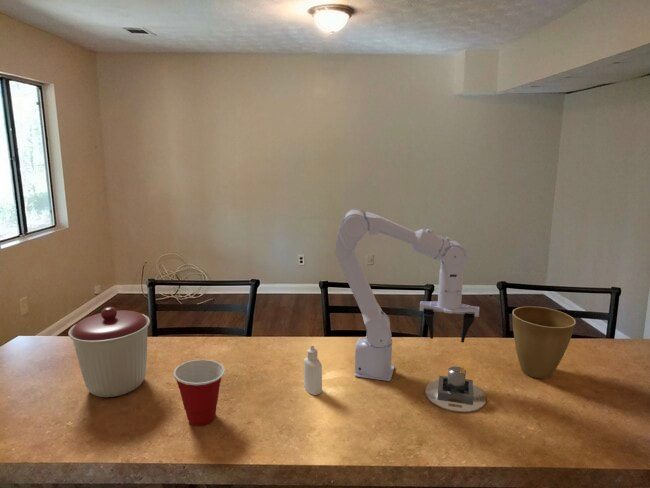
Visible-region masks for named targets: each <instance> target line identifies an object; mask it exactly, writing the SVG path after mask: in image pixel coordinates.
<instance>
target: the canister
mask: <svg viewBox="0 0 650 488" xmlns="http://www.w3.org/2000/svg"><path fill="white" fill-rule="evenodd" d="M100 311H101V312H100V313H99V312H98V313H96V314H93V315H90V316H88V317H85V318H83V319H82V320H80V321H78V322H77V323H76V324H74V325H72V326H71V327H70V328H69V330H68V332H67V333H68V334H67V335H68V337H69V338H70V339H71V340H72V343H73V346H74V351H75V353H76V357H77V360H78V364H79V367H80V371H81V375H82V378H83V381H84V385H85V387H86V389H87V390H88V392H90V394H92V395H94V396H96V397H100V398H101V397H102V398H109V397H110V398H114V397H120V396H122V395H125V394H128V393H130V392H132V391H135V390H136V389H137V388H138V387H140V386H141V384H142V383H143V382H144V380H145V377H146V373H147V362H148V361H147V360H148V357H147V356H148V327H149V326H150V324H151V320H150V318H149V316H147V315H146V314H144V313H140V312H137V311H134V310H124V309H122V310H117V308H115V307H114V306H105V307H104V308H103V309H102V310H100Z"/></svg>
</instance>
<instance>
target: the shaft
mask: <svg viewBox="0 0 650 488" xmlns="http://www.w3.org/2000/svg"><path fill="white" fill-rule="evenodd" d="M466 373H467V371H466V369H465V368H464V366H463V367H461V366H450V367H449V368H448V372H447V377H448V384H447V391H450V392H456V393H463V394H464V389H465V379H466Z"/></svg>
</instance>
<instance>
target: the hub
mask: <svg viewBox="0 0 650 488" xmlns="http://www.w3.org/2000/svg"><path fill="white" fill-rule="evenodd" d="M473 382H474V380H473V379H467V378H465V389H464V394H463V393H456V392H450V391H447V384H448V376H445V375H439V376H438V379H435V380H433V381H431V382H429V383H428V384H427V385H426V387H425V396H426V398H427V400H428V401H429V402H431V404H433V405H435V406H436V407H438V408H441V409H443V410H446V411H448V412H449V411H450V412H454V413H471V412H472V413H473V412H476V411H478V410H481V409H483V407H484V406H485V404H486V401H487V398H486V394H485V392H484V391H483V390H482V389H481V388H480V387H478V386H477V385H475V384H474V383H473Z"/></svg>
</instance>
